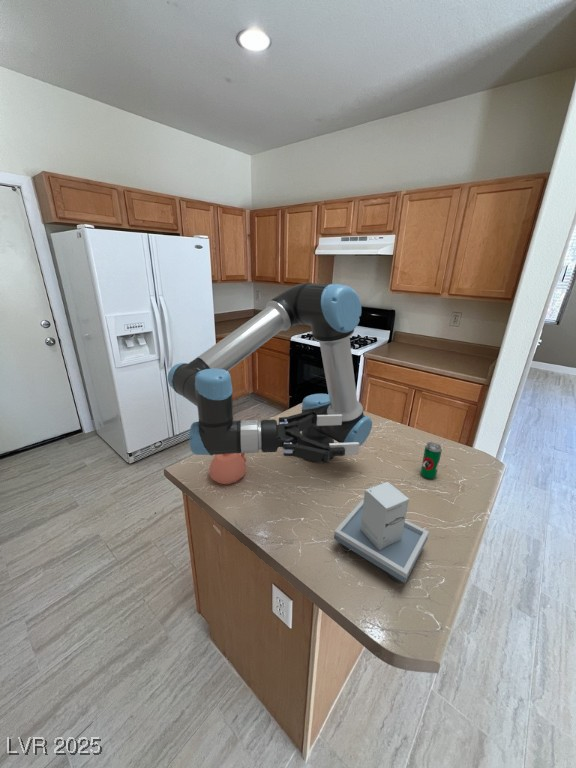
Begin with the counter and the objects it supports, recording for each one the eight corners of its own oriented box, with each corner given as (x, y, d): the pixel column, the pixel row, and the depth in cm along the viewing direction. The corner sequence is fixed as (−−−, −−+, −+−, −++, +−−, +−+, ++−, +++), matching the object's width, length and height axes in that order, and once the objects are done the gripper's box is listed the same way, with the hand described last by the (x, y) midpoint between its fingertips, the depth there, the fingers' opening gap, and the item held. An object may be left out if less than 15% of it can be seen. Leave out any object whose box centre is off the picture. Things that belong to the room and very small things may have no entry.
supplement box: (379, 551, 73) (385, 508, 68) (359, 529, 79) (363, 488, 75) (402, 540, 76) (410, 498, 72) (381, 519, 82) (387, 480, 78)
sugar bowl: (202, 476, 106) (200, 450, 102) (235, 459, 115) (234, 435, 112) (224, 493, 98) (222, 466, 94) (257, 473, 108) (256, 448, 104)
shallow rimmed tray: (333, 548, 79) (334, 530, 77) (361, 514, 90) (362, 498, 88) (403, 592, 68) (406, 574, 66) (425, 548, 79) (428, 531, 77)
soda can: (437, 481, 104) (444, 450, 100) (421, 479, 105) (427, 448, 101) (434, 472, 109) (440, 442, 105) (418, 470, 110) (424, 440, 106)
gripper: (259, 424, 85) (335, 422, 87) (261, 484, 62) (365, 479, 64) (258, 399, 82) (337, 397, 84) (261, 452, 59) (369, 447, 61)
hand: (349, 432), depth 74 cm, fingers open, 13 cm apart
